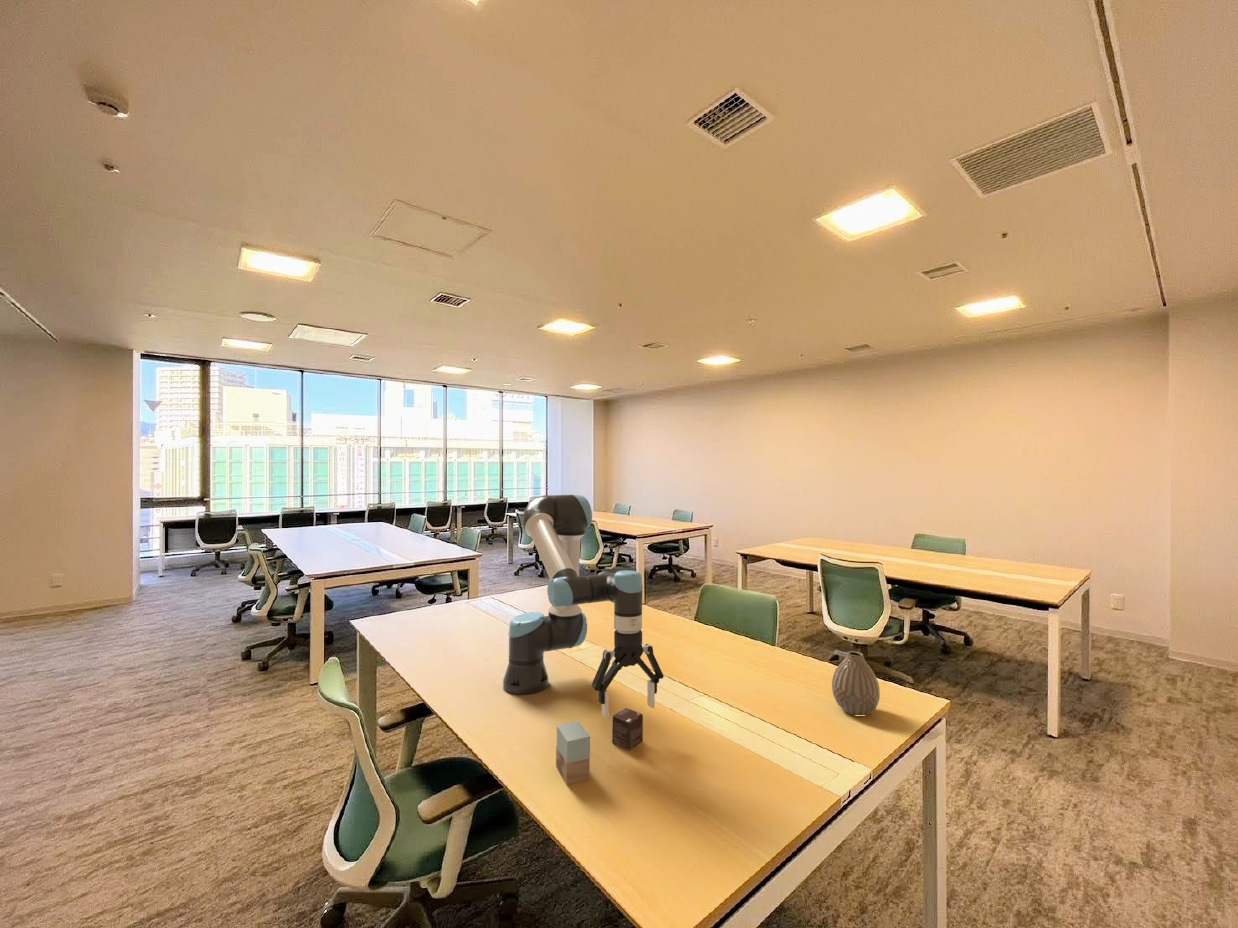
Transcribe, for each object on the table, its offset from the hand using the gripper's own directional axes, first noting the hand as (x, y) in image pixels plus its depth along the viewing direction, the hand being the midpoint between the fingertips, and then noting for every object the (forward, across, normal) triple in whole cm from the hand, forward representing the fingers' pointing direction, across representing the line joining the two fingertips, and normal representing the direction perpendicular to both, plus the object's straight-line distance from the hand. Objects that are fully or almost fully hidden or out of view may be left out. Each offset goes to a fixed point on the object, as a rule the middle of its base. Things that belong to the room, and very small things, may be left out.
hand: (628, 710), depth 132 cm
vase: (+9, +71, -12) cm, 72 cm away
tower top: (+4, -18, -7) cm, 19 cm away
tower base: (+9, -18, -6) cm, 21 cm away
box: (+9, 0, 0) cm, 9 cm away
